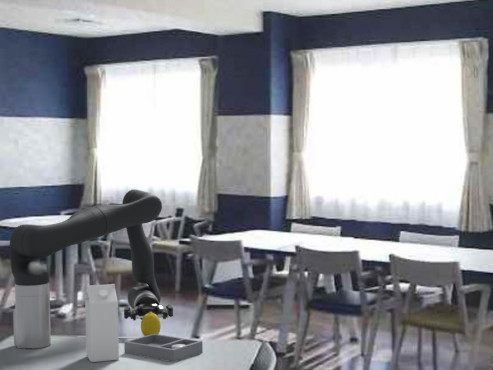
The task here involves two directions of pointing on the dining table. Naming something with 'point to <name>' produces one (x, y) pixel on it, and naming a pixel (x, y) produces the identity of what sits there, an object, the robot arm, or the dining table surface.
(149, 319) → the lemon
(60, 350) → the dining table surface
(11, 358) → the dining table surface
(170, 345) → the grey divided tray
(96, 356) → the milk carton
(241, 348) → the dining table surface
